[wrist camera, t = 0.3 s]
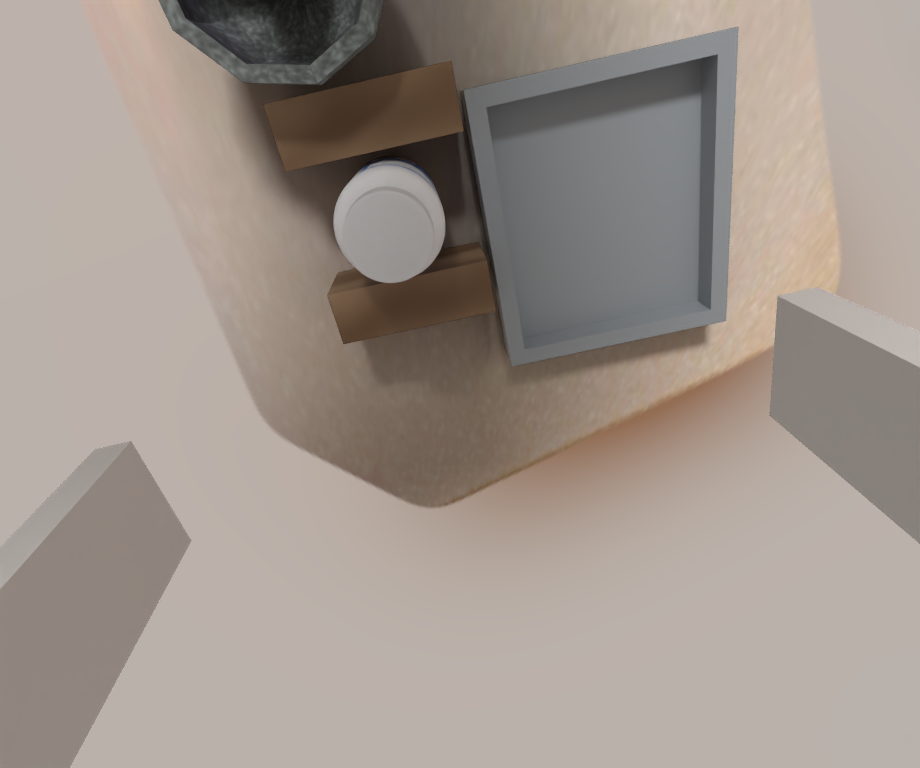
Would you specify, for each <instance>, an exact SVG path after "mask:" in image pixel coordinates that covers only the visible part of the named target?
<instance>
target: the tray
mask: <svg viewBox="0 0 920 768" xmlns="http://www.w3.org/2000/svg"><path fill="white" fill-rule="evenodd" d="M737 50H738V27H734V28H730V29H725V30H721V31H717V32H712V33H708V34H704V35H699V36H695V37H691V38H686V39H682V40H678V41H673V42H669V43H665V44H660V45H656V46H652V47H647V48H643V49H639V50H634V51H630V52H626V53H621V54H617V55H613V56H608V57H604V58H600V59H595V60H591V61H587V62H582V63H578V64H574V65H569V66H565V67H561V68H556V69H552V70H547V71H543V72H539V73H534V74H530V75H526V76H521V77H517V78H513V79H508V80H504V81H500V82H495V83H491V84H487V85H482V86H478V87H474V88H469V89H465V90H462V91H460V93H461V99H462V105H463V110H464V116H465V122H466V127H467V133H468V139H469V144H470V150H471V156H472V161H473V167H474V173H475V178H476V184H477V190H478V195H479V201H480V207H481V212H482V218H483V224H484V229H485V235H486V241H487V246H488V252H489V258H490V263H491V269H492V275H493V280H494V286H495V292H496V297H497V303H498V309H499V314H500V320H501V326H502V331H503V337H504V343H505V348H506V352H507V355H508V358H509V361H510V363H511V366H512V367H513V366H517V365H522V364H527V363H531V362H536V361H541V360H545V359H550V358H555V357H560V356H564V355H569V354H574V353H578V352H583V351H588V350H592V349H597V348H602V347H606V346H611V345H616V344H620V343H625V342H630V341H634V340H639V339H644V338H649V337H653V336H658V335H663V334H667V333H672V332H677V331H681V330H686V329H691V328H695V327H700V326H705V325H709V324H714V323H719V322H723V321H726V310H727V286H728V263H729V239H730V215H731V192H732V168H733V144H734V121H735V97H736V74H737Z"/></svg>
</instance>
